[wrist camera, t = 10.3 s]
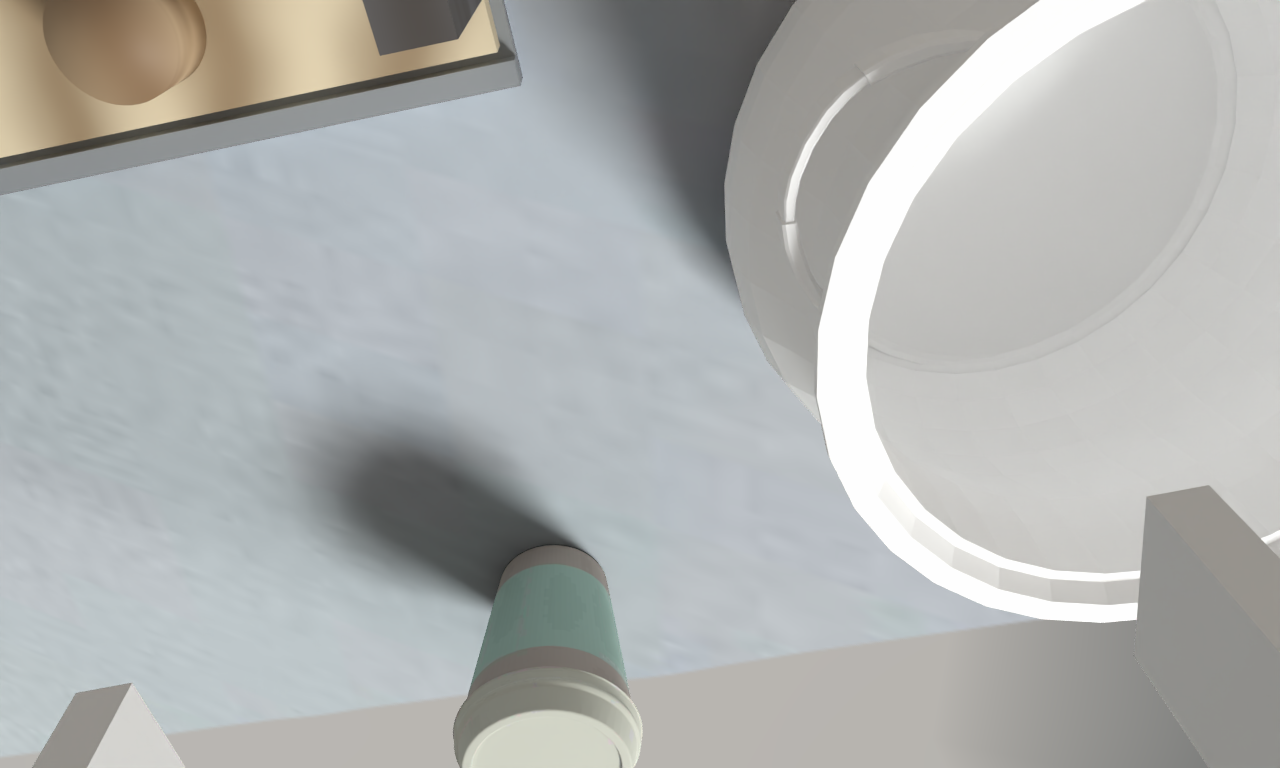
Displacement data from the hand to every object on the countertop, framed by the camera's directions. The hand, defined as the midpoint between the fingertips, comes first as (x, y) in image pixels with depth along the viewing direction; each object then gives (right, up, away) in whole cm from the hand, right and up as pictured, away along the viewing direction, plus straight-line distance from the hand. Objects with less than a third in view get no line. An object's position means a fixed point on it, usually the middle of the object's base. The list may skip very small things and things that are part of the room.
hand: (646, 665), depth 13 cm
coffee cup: (-5, -7, +40) cm, 41 cm away
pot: (+15, +14, +30) cm, 36 cm away
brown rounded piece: (-18, +17, +23) cm, 34 cm away
